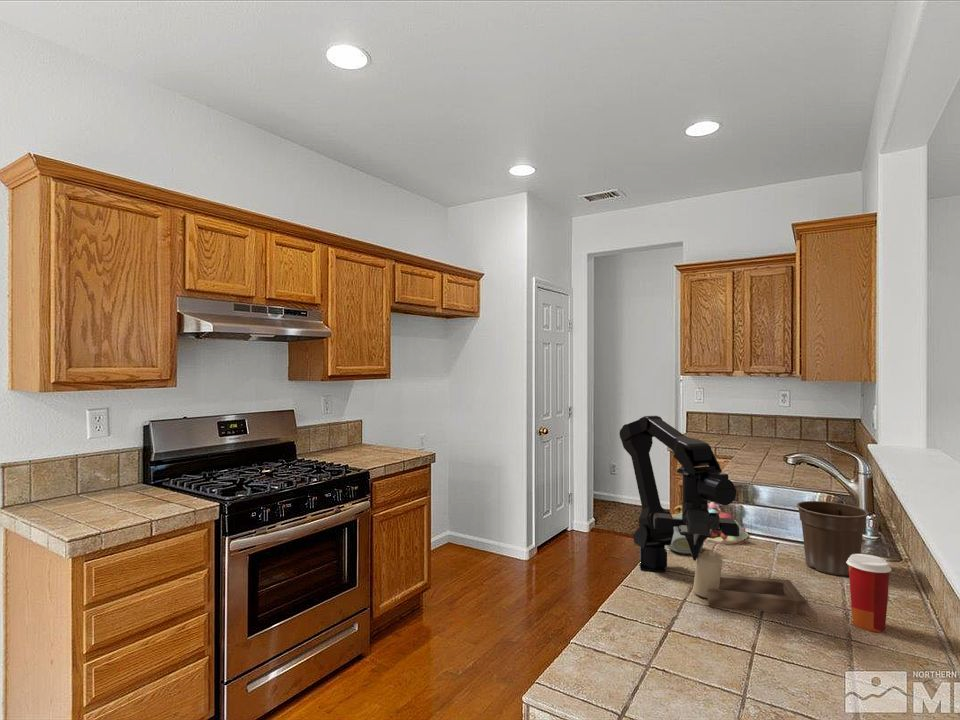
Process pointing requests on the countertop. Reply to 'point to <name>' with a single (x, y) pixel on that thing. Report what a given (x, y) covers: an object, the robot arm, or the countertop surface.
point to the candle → (707, 573)
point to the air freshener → (680, 540)
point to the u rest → (758, 595)
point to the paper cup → (869, 591)
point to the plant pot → (831, 534)
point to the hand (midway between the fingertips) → (694, 560)
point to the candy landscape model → (717, 534)
